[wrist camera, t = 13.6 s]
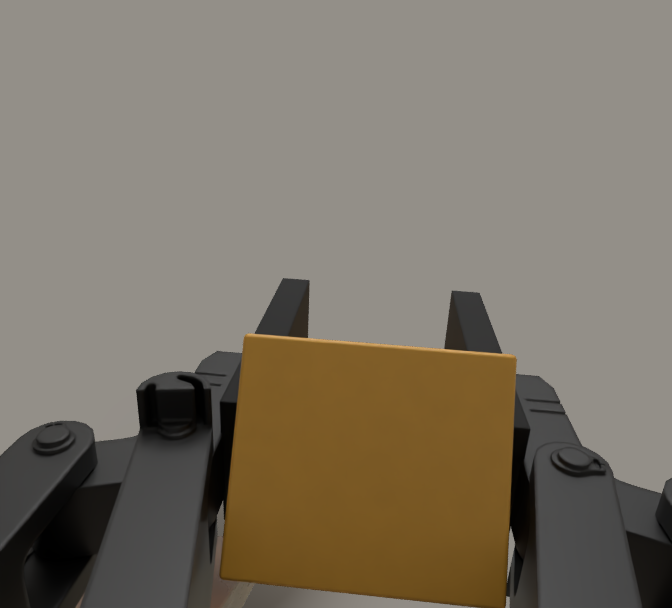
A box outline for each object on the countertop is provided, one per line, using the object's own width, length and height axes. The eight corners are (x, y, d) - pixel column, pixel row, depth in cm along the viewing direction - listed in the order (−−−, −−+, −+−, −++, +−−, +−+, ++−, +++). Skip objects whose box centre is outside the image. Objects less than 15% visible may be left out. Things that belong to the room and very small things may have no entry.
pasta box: (327, 436, 30) (333, 367, 30) (405, 443, 30) (410, 374, 30) (216, 580, 8) (243, 332, 9) (506, 612, 8) (518, 354, 8)
